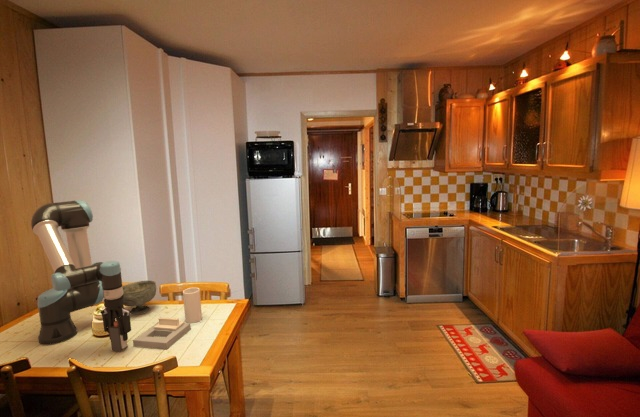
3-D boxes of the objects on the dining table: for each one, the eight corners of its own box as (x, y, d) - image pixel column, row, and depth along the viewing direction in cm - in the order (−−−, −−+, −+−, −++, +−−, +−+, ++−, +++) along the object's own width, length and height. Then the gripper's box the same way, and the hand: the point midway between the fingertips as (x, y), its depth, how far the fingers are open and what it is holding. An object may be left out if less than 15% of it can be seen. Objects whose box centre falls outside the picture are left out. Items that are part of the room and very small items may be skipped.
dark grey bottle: (111, 351, 156) (108, 323, 155) (119, 346, 161) (116, 319, 159) (120, 352, 156) (117, 324, 154) (127, 346, 160) (124, 319, 158)
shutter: (153, 328, 169) (152, 321, 169) (163, 321, 177) (162, 314, 176) (175, 330, 167) (174, 322, 166) (184, 323, 174) (183, 315, 174)
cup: (196, 323, 181) (194, 293, 178) (182, 322, 182) (179, 292, 180) (204, 316, 189) (202, 287, 186) (191, 315, 190) (188, 287, 188)
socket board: (133, 346, 160) (132, 340, 160) (160, 326, 178) (159, 321, 178) (166, 349, 157) (166, 343, 156) (190, 329, 175) (190, 323, 174)
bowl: (134, 303, 209) (131, 279, 207) (165, 304, 206) (162, 279, 204) (110, 318, 190) (107, 291, 188) (143, 319, 187) (140, 292, 185)
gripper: (89, 299, 153) (96, 349, 156) (124, 301, 149) (130, 352, 152) (103, 292, 160) (109, 340, 163) (137, 294, 156) (142, 343, 160)
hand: (119, 346), depth 158 cm, fingers closed on dark grey bottle, 4 cm apart
